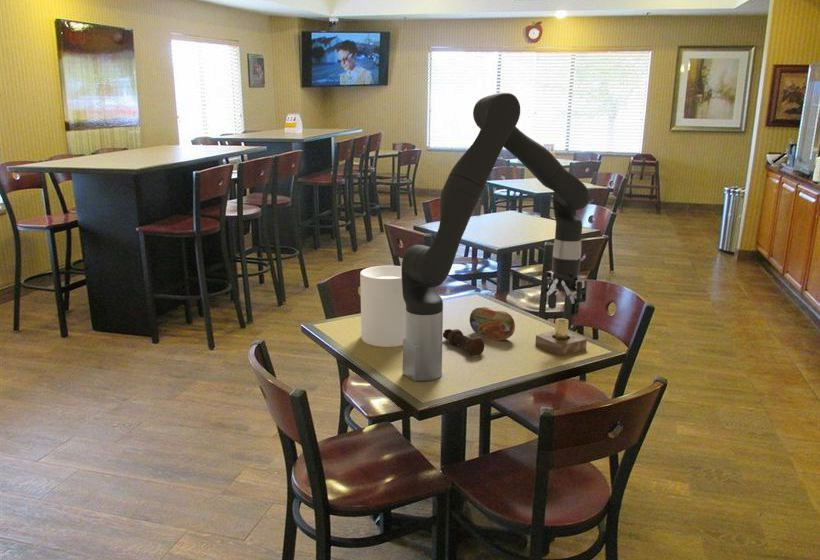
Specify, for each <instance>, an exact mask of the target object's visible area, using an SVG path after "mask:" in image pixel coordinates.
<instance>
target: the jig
mask: <svg viewBox="0 0 820 560" xmlns="http://www.w3.org/2000/svg"><path fill="white" fill-rule="evenodd" d="M554 336H555V330H552V331H549V332H548V331H547V332H543V333H539V334H535V346H537V347H538V348H541V349H544V350H546V351H549V352H551V353H553V354H555V355H557V356H560V357H561V356H564V355H568V354H573V353H577V352H581V351H585V350H587V344H588V343H587V341H588V340H587V339H588V338H585V337H582V336H580V335H577V334H575V333H573V332H570V331H568V337H567V340H557V339H554Z"/></svg>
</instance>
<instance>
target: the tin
mask: <svg viewBox="0 0 820 560" xmlns="http://www.w3.org/2000/svg"><path fill="white" fill-rule="evenodd" d="M469 324H470V325H469V326H470V327H471V329H472V332H474V333H476V334H477V335H478V334H479V336H482V335H483V337H486V336H487V338H489V337H490V339H493V338H494V340H496V341H505V340H506V339H509V338H510V337H512V336H513V335H514V334H515V330H516V329H515V328H516V325H515V324H516V323H515V320H514V318H513V316H512V315H511V314H510V313H508V312H507V311H503V310H498V309H494V308H489V307H487V306H483V307H477V308H474V309H473V310H471V312H470V315H469Z"/></svg>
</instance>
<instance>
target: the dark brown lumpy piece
mask: <svg viewBox="0 0 820 560" xmlns="http://www.w3.org/2000/svg"><path fill="white" fill-rule="evenodd" d="M442 338H444V339H445V340H447V341H448V343H449V345H451V346H453V347H455V346H460V347H462V348H464V349H465V350H466V352H467V353H468V355H469V356H470V355H471V356H470V357H477V355H478V356H480V354H481V355H482V354H483V352H484V350H485V347H486V344H485V342H484V340H483V339H482V337H480V336H474V337H469V336H466V335H464V333H463V332H462V331H461V330H460V329H458V328H457V329H451V328H449V329H445V330H444V331H443V332H442Z"/></svg>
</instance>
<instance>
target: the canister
mask: <svg viewBox="0 0 820 560" xmlns="http://www.w3.org/2000/svg"><path fill="white" fill-rule="evenodd" d="M359 276H360V277H359V280H360V281H359V283H360V326H361V327H360V328H361V331H360V332H361V333H360V334H361V335H360V336H361V340H362V342H364V343H365V344H367V345H371V346H375V347H381V348H382V347H383V348H384V347H386V348H389V347H390V348H391V347H395V348H396V347H401V346H402V347H403V339H404V338H406V303H405V301H404V298H403V292H402V265H401V266H399V265H377V266H370V267H366V268H364V269H362V270H361V271H360V273H359Z"/></svg>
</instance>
